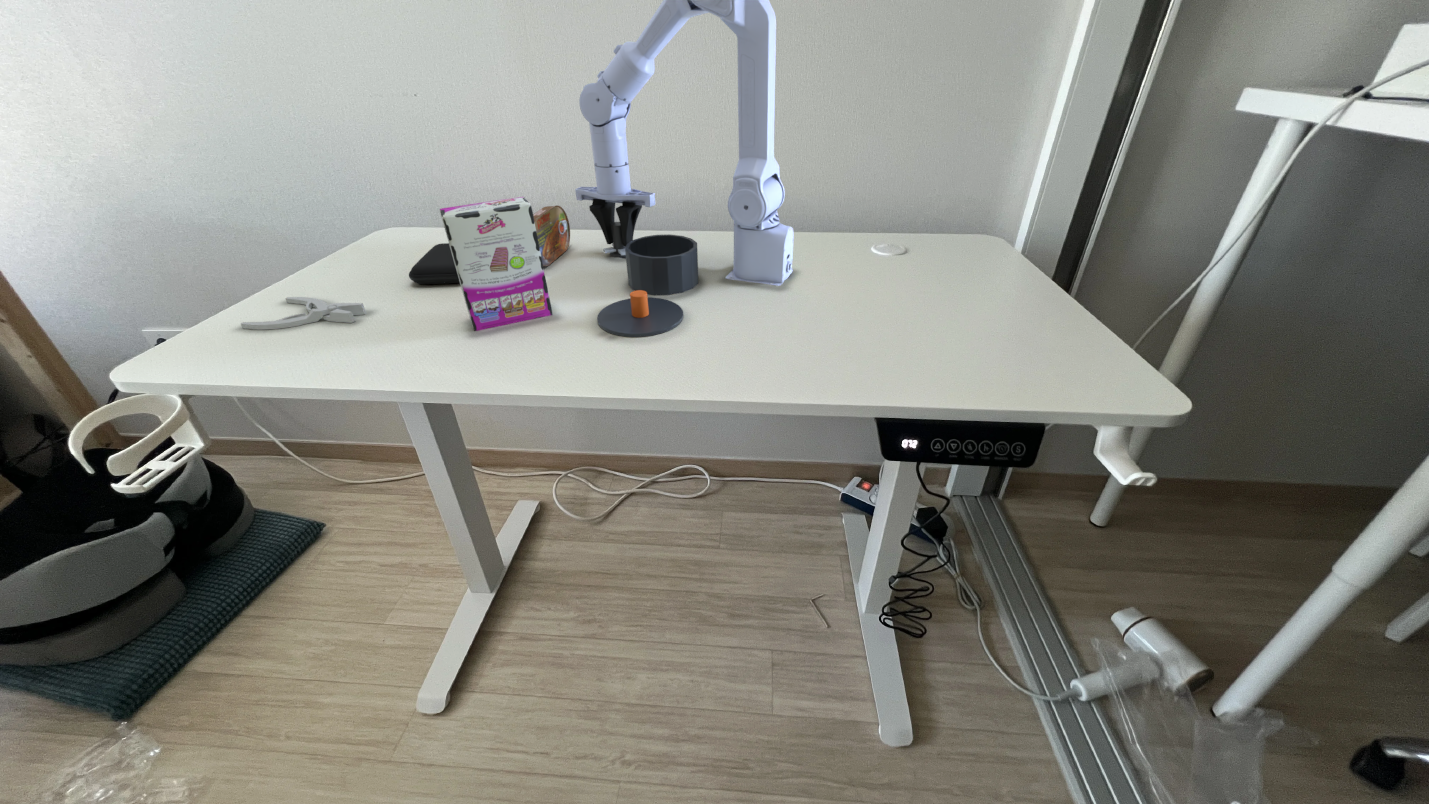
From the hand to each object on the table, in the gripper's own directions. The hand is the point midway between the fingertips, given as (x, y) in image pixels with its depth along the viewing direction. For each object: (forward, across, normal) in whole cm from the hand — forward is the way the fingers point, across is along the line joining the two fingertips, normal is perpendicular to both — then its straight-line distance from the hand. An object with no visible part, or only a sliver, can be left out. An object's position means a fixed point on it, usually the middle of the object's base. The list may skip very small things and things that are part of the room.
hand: (619, 243), depth 106 cm
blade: (+2, 0, 0) cm, 2 cm away
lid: (+2, -16, +23) cm, 28 cm away
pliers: (+3, +31, +38) cm, 49 cm away
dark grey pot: (+2, -13, +10) cm, 16 cm away
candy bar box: (+3, +2, +29) cm, 29 cm away
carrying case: (+3, +24, +16) cm, 29 cm away
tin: (+3, +12, +5) cm, 13 cm away
